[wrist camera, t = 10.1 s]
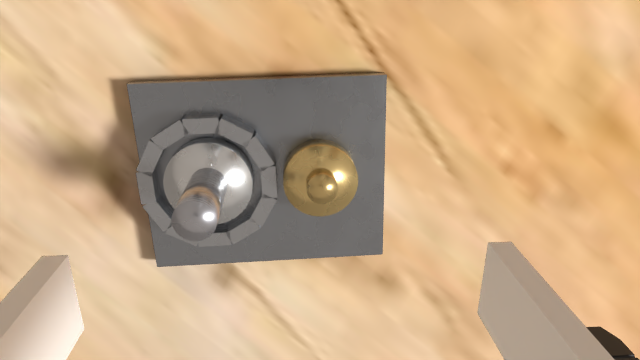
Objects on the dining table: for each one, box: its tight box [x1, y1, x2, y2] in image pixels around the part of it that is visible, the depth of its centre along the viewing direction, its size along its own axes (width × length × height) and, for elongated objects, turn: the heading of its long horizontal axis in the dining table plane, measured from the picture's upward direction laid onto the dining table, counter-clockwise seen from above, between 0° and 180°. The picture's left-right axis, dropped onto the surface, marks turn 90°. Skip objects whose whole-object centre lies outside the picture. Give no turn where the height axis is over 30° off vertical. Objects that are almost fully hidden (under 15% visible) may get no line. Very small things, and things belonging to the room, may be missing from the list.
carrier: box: [127, 72, 387, 267], centre depth 39 cm, size 16×20×5 cm
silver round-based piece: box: [163, 138, 254, 241], centre depth 36 cm, size 7×7×8 cm
